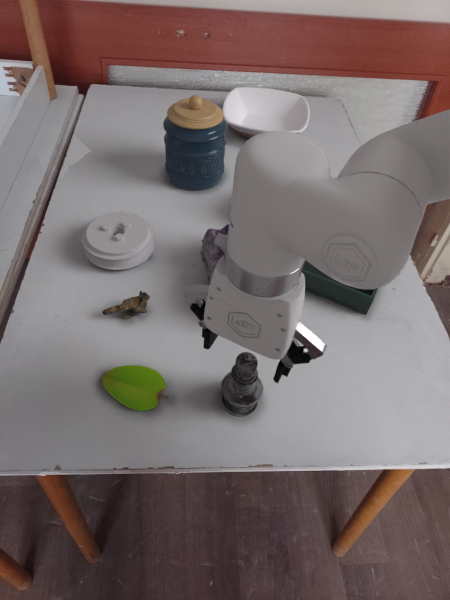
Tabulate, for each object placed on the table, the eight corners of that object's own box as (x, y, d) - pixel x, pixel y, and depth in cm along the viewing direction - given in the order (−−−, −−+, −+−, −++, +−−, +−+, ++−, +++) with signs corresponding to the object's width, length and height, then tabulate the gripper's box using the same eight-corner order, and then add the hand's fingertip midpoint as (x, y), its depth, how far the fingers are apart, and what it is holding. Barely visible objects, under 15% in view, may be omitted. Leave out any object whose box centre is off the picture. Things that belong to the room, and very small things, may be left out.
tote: (386, 263, 85) (393, 248, 82) (366, 314, 77) (373, 299, 74) (316, 237, 89) (320, 221, 86) (289, 283, 80) (293, 267, 77)
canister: (212, 197, 95) (216, 118, 81) (155, 183, 97) (150, 103, 84) (231, 165, 103) (237, 88, 90) (179, 152, 105) (177, 75, 92)
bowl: (227, 102, 122) (229, 83, 118) (306, 112, 121) (310, 93, 117) (215, 144, 108) (216, 124, 104) (305, 156, 107) (309, 136, 103)
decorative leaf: (128, 425, 62) (127, 423, 61) (97, 378, 66) (96, 375, 65) (175, 394, 65) (174, 392, 64) (143, 351, 69) (142, 348, 68)
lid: (115, 284, 78) (111, 264, 74) (71, 248, 83) (65, 227, 79) (168, 249, 84) (167, 229, 80) (125, 217, 89) (122, 197, 85)
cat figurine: (156, 314, 74) (149, 299, 70) (109, 328, 73) (100, 314, 70) (153, 301, 75) (146, 286, 72) (107, 315, 75) (98, 301, 72)
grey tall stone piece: (234, 374, 68) (242, 327, 58) (267, 396, 66) (280, 350, 57) (211, 402, 64) (215, 357, 55) (245, 426, 62) (254, 383, 53)
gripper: (167, 252, 43) (170, 350, 57) (336, 325, 39) (297, 412, 52) (204, 210, 48) (199, 309, 61) (360, 271, 44) (318, 363, 57)
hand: (245, 356), depth 57 cm, fingers open, 9 cm apart
